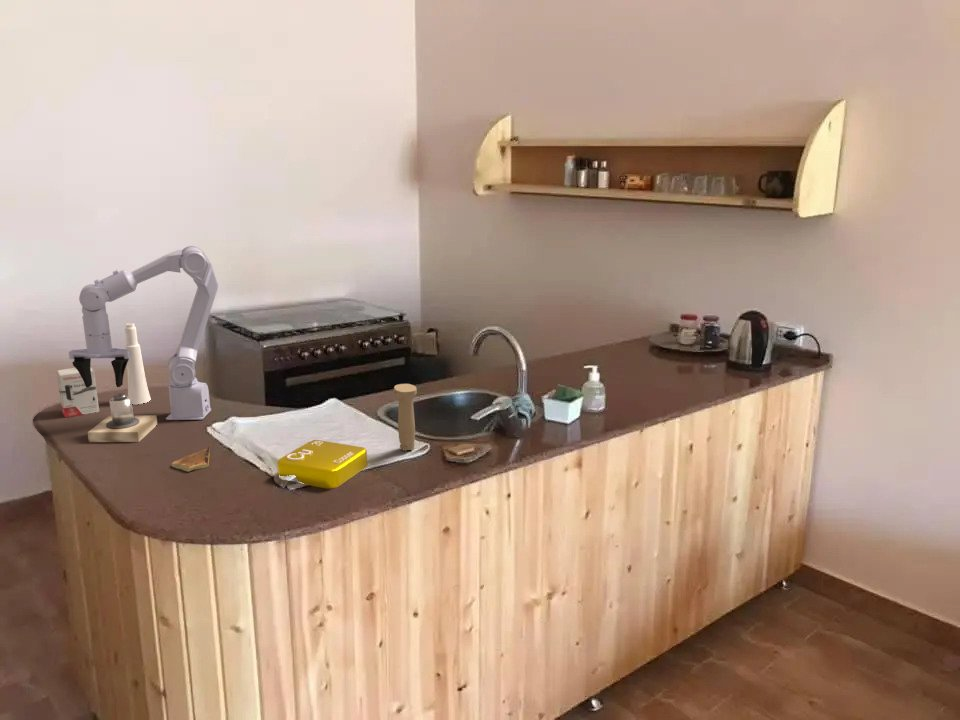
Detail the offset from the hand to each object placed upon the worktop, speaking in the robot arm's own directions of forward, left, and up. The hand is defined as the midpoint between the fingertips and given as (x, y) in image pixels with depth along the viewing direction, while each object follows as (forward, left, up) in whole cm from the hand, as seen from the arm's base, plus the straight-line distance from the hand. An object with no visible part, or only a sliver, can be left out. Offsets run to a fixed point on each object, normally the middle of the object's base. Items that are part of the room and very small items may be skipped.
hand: (104, 386), depth 210 cm
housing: (-6, +6, -8) cm, 11 cm away
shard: (-29, +25, -11) cm, 40 cm away
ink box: (+12, -10, -11) cm, 19 cm away
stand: (-6, +6, -10) cm, 14 cm away
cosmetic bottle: (0, -19, -11) cm, 22 cm away
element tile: (-60, +31, -11) cm, 68 cm away
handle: (-77, +18, -11) cm, 80 cm away
